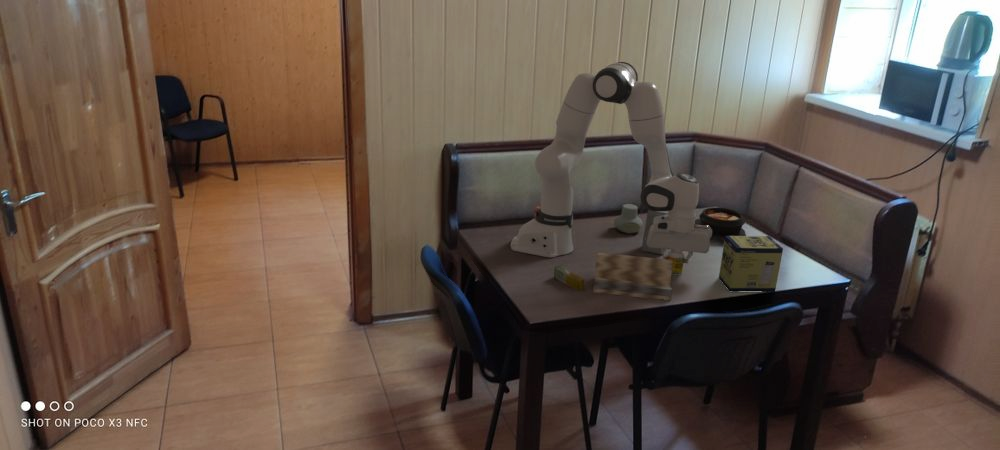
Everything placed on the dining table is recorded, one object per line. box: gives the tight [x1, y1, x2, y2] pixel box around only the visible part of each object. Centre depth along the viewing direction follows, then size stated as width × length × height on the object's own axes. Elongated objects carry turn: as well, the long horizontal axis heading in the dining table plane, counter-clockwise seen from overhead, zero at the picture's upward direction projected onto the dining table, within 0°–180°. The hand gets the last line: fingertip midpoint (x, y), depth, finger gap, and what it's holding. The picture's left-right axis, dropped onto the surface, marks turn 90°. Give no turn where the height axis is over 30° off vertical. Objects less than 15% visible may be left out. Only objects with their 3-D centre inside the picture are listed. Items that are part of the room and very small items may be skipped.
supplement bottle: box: [667, 248, 685, 277], centre depth 241 cm, size 5×5×10 cm
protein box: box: [718, 235, 784, 293], centre depth 234 cm, size 10×16×16 cm
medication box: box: [553, 265, 585, 292], centre depth 232 cm, size 12×3×4 cm, turn 37°
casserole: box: [695, 207, 747, 242], centre depth 278 cm, size 25×19×8 cm
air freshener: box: [613, 203, 644, 235], centre depth 277 cm, size 11×8×10 cm
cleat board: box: [592, 251, 673, 301], centre depth 229 cm, size 24×11×9 cm, turn 80°
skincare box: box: [641, 209, 668, 255], centre depth 259 cm, size 8×7×16 cm
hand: (675, 261), depth 242 cm, fingers closed on supplement bottle, 5 cm apart
